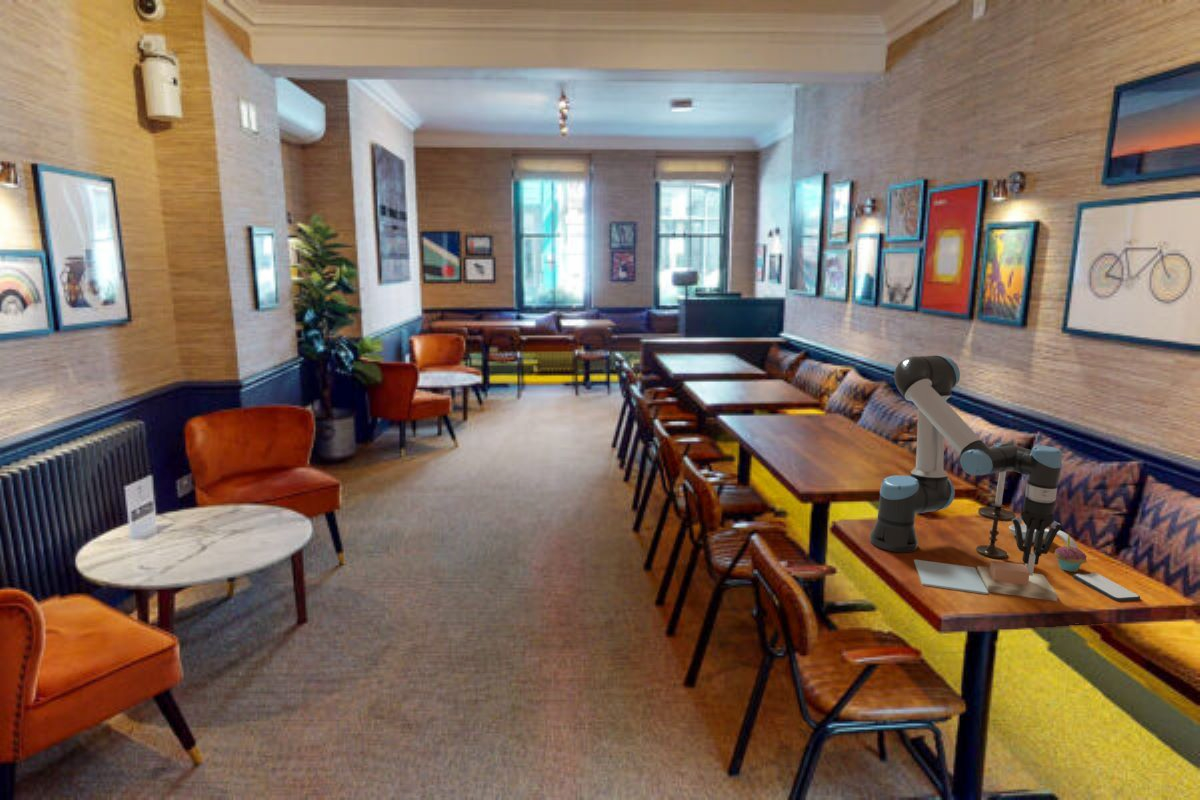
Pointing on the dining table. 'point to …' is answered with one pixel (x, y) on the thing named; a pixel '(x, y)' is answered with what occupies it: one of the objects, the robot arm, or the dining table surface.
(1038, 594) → the beige flat rectangular piece
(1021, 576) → the pink block
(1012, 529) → the spoon rest
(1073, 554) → the cupcake
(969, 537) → the dining table surface
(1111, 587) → the phone case
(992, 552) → the candlestick
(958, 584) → the mat
